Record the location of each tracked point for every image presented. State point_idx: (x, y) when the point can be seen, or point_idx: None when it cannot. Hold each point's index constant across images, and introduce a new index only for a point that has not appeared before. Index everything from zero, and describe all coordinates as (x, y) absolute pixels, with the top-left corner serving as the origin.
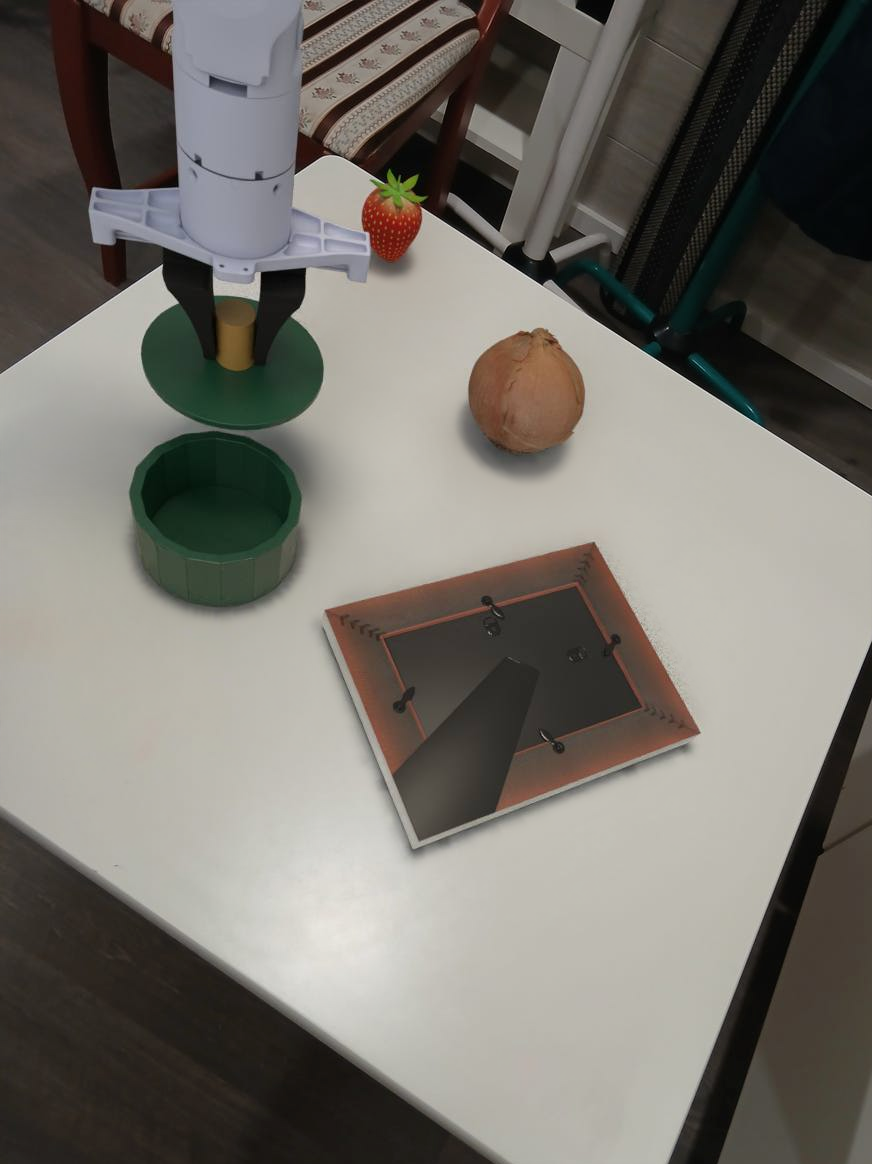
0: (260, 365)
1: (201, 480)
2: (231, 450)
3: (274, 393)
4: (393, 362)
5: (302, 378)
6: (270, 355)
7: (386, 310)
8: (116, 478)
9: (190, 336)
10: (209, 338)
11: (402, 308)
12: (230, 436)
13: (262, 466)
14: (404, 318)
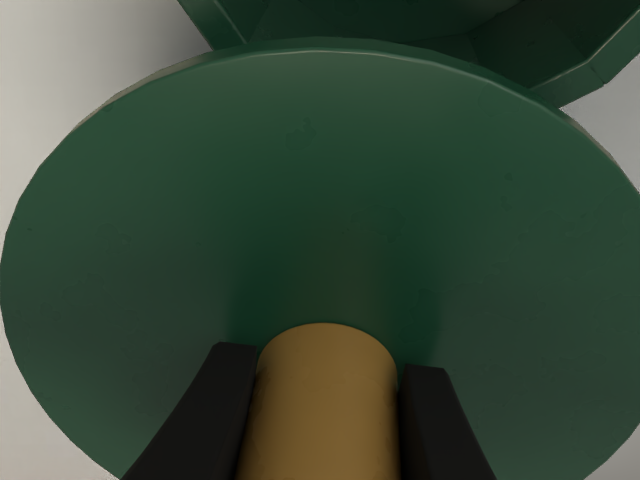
0: (231, 343)
1: (439, 45)
2: None
3: (178, 226)
4: (12, 354)
5: (75, 293)
6: None
7: (43, 447)
8: (634, 74)
9: None
10: (443, 468)
11: (14, 450)
12: None
13: (270, 33)
14: (7, 434)
